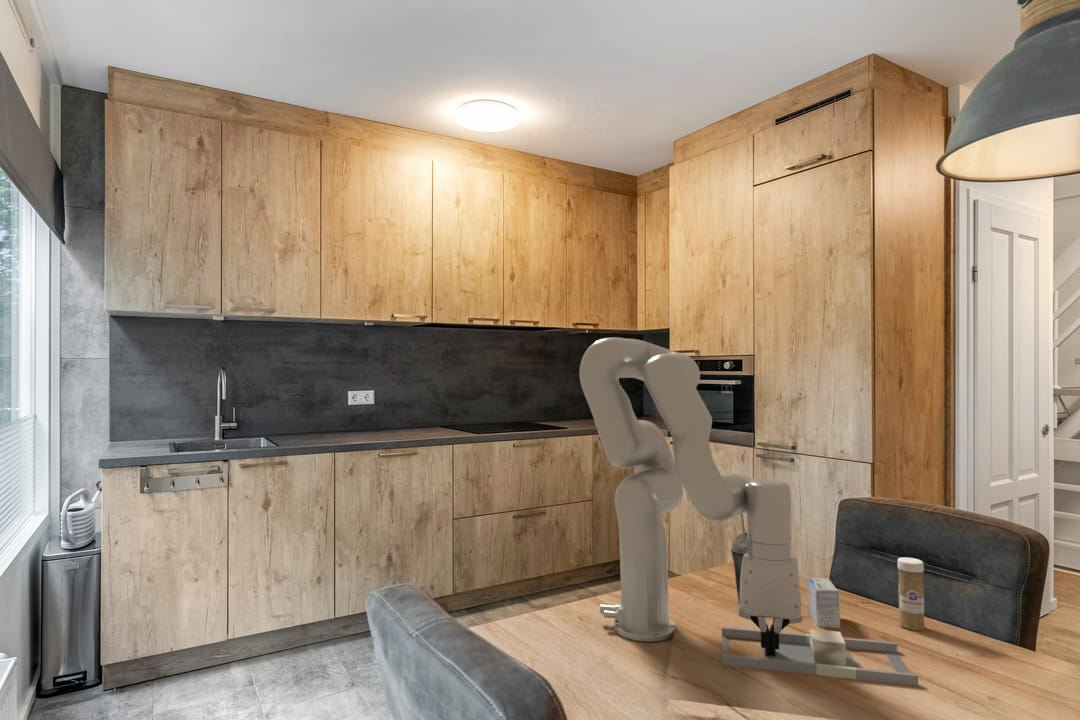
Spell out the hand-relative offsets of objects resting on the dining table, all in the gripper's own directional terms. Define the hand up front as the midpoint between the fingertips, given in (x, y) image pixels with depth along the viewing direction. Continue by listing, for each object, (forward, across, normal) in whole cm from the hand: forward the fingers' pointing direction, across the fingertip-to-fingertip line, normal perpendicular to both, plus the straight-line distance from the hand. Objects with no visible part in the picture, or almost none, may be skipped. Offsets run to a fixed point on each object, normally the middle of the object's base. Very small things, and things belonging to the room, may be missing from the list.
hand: (769, 652), depth 112 cm
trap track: (+2, +7, 0) cm, 7 cm away
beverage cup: (+2, -2, +29) cm, 29 cm away
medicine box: (+2, +12, +19) cm, 22 cm away
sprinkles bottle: (+2, +29, +23) cm, 37 cm away
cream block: (0, +10, 0) cm, 10 cm away
